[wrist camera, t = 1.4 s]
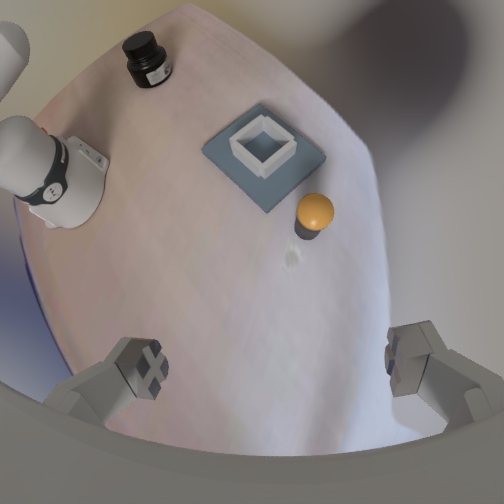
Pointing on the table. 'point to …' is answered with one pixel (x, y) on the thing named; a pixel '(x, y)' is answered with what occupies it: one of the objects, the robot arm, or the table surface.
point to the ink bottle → (146, 60)
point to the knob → (313, 215)
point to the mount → (263, 156)
